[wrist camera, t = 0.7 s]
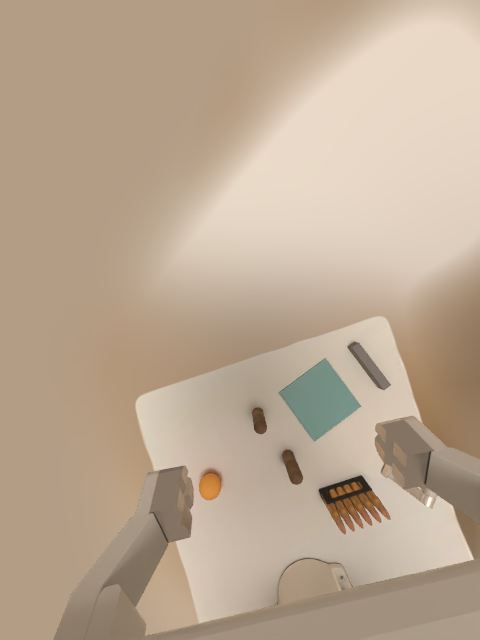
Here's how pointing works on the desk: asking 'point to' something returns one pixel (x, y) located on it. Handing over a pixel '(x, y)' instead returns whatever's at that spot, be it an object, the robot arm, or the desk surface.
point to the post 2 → (292, 467)
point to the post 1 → (259, 421)
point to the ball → (210, 486)
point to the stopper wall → (369, 366)
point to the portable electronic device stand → (414, 489)
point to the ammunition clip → (352, 502)
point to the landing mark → (319, 399)
